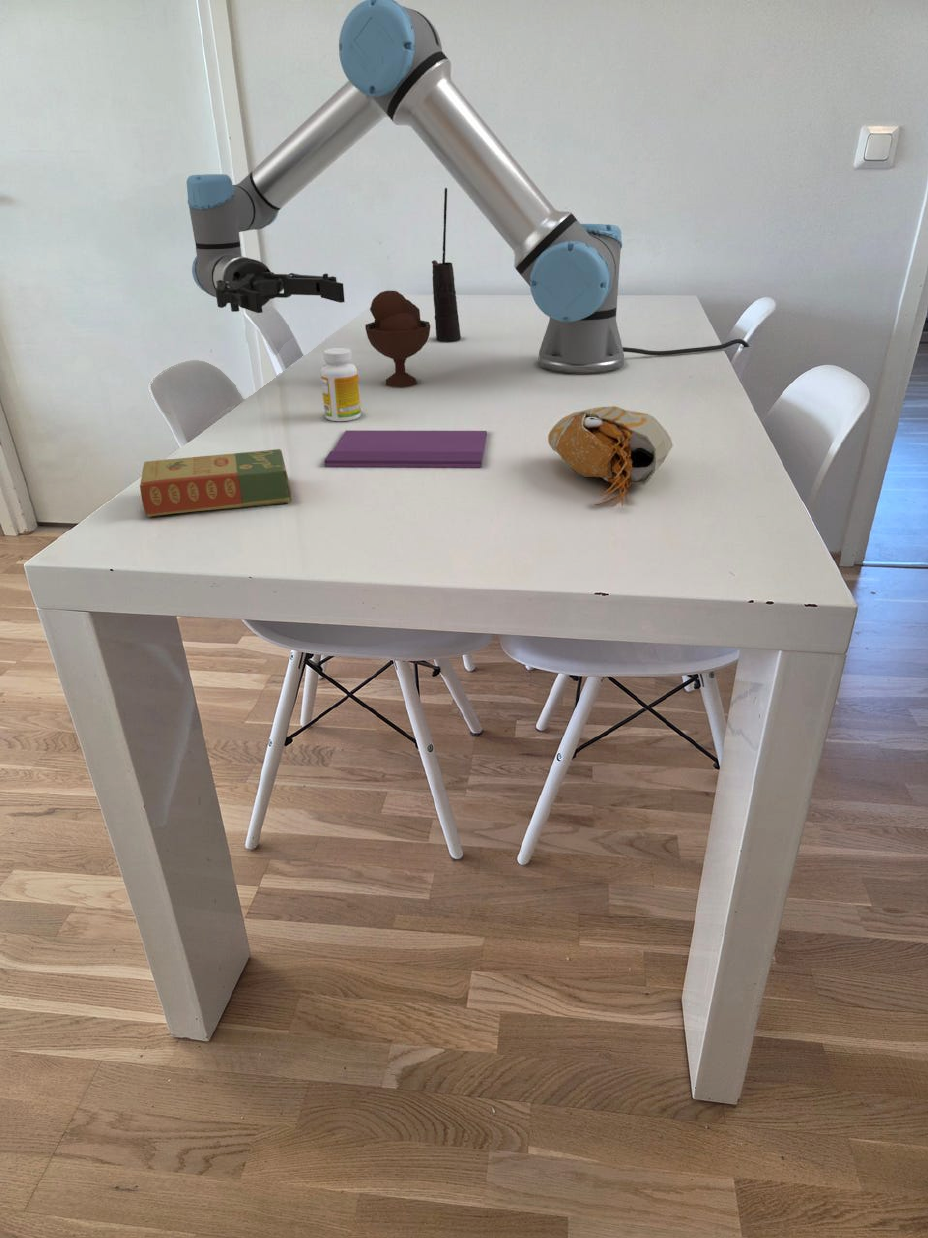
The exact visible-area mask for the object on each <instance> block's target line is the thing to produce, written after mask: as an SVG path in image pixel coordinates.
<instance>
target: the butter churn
mask: <svg viewBox="0 0 928 1238" xmlns="http://www.w3.org/2000/svg"><path fill="white" fill-rule="evenodd" d="M443 194H444V198H443V199H444V202H443V232H442V233H443V234H442V235H443V236H442V259H441V260H442V261H441V262H439V263H438V261H437V260H434V259H433V260H432V261H431V265H432V294H433V306H434V307H433V309H434V322H435V323H434V325H435V339H436V341H437V342H441V343H452V342H458V341H460V340H461V339H462V336H461V329H460V328H461V327H460V319H459V311H458V310H459V309H458V301H457V295H456V294H457V291H456V284H455V274H454V267H453V263H452V262H449V261H447V262H446V244H447V243H446V241H447V240H446V238H447V236H446V233H447V212H448V211H447V210H448V209H447V207H448V187H445V188H444V193H443Z"/></svg>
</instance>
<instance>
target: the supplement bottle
mask: <svg viewBox="0 0 928 1238" xmlns="http://www.w3.org/2000/svg"><path fill="white" fill-rule="evenodd" d="M322 354H323V355H322V356H323V360H324V363H325V364H324V365H322V367H321V368H320V382H321V391H322V401H323V410H324V416H325V418H326V419H327V420H329V421H331V422H348V421H354V420H357V419H358V418H360V417H361V415H362V409H361V399H360V398H361V397H360V387H359V377H358V375H359V374H358V373H359V372H358V367H357V366H356V365H355V364H353V363H351V361H352V358H353V357H352V350H351V348H346V347H333V348H327V349H324V350H323V353H322Z"/></svg>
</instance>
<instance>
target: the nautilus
mask: <svg viewBox="0 0 928 1238" xmlns="http://www.w3.org/2000/svg"><path fill="white" fill-rule="evenodd" d="M547 439H548V442H547V443H548V445H549V446H550V448H551V450H552V451H554V452H556V453H557V454H558V455H559V457H561V459H562V460H563V461H564V462H565V463H566V464H567V465H568V466H569V467H570V468H571V469H573V471H574V473H577V474H579V475H582V477H584V478H586V477H587V478H589V477H595V478H602V479H603V480H604V481H606V482H610V483H611V486H610V487H609V488H607V489H606V490H605V491H604V492H603V493H601V494H600V495H599V496H600V497H601V496H603V495H605V494H606V493H607V494H608V495H607V496H606V497H605V498H603V499H602V501H604V502H600V503H594V506H601V505H605V504H607V503H609V502H612V501H614V500H616V499H618V498H619V499H618V500H617V501H615V503H614V504H613V505H611V507H615V506H616V505H617V504H619V503H621V506H622V507H623V506H624V501H623V497H624V496H625V499H626V501H627V502H626V503H627V504H628V503H629V499H628V497H627V492H628V491H629V488H630V486H631V485H646V484H647V483H648V482H649V480H650V479H651V478H652V476H653V475H654V474H655V473H656V472H657V471H658V470H659V468H660V467H661V466H662V464H664V462H665V460H666V458H667V457H668V455H669V453H670V452H671V450H672V448H673V447H674V444H673V441H672V438H671V436H670V435H669V433H668V431H667V430H666V429H665V427H663V425H662V424H661V423H660V422H659V421H658V419H657V418H656V417H654V415H651V414H650V413H649V414H648V413H645V412H641V411H640V412H638V411H632V410H628V409H624V408H621V407H619V406H615V405H614V406H612V405H611V406H600V407H593V408H589V409H585V410H584V409H583V410H580V411H576V412H572V413H571V414H568V415H566V416H564V417H562V418H561V419H560V420H559V421H558V422H556V423H555V424H554V426H552V428H551V430H550V431H549V433H548V435H547ZM612 488H613V489H612ZM611 489H612V490H611ZM617 489H618V491H619V494H618V495H615V496H614V497H612V498H610V499H609V497H611V496H612V495H613V494H614V492H615V491H616V490H617ZM622 490H623V491H622ZM607 499H608V500H607ZM605 500H606V501H605Z"/></svg>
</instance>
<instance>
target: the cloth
mask: <svg viewBox="0 0 928 1238" xmlns="http://www.w3.org/2000/svg"><path fill="white" fill-rule="evenodd" d="M487 431H488V430H345V431H344V432H343V434H342V435H341V437H340V439H339V440H338V442H337V443H336V445H335V447H334V448H333V449H332V450H330V451H329V452H328V454H327V455H326V457H325V458H324V467H325V468H326V467H329V468H331V467H332V468H333V467H335V468H337V467H342V468H343V467H344V468H345V467H347V468H351V467H352V468H482V465H483V459H484V452H485V446H486V440H487V435H488V434H487V433H488V432H487Z"/></svg>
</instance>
